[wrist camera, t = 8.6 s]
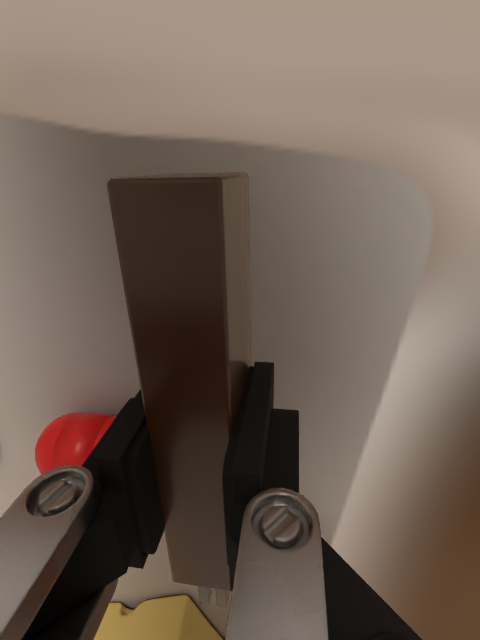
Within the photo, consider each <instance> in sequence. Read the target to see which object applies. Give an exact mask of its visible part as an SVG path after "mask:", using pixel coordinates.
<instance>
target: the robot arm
mask: <svg viewBox="0 0 480 640" xmlns="http://www.w3.org/2000/svg"><path fill="white" fill-rule="evenodd" d="M273 396H274V363H269V362H255V364H254V367H253V366H250V367H249V371H248V375H247V379H246V383H245V388H244V392H243V396H242V400H241V404H240V409H239V413H238V417H237V421H236V426H235V430H234V434H233V437H232V438H231V439H229V442H228V446H227V450H226V454H225V459H224V464H223V473H222V485H223V502H224V518H225V535H226V552H227V565H229V575H230V589H231V591H232V598H231V605H230V612H229V619H228V627H227V634H226V640H422V639H421V638H420V637H419V636H418V635H417V634H416V633H415V632H414V631H413V630H412V629H411V628H410V627H409V626H408V625H407V624H406V623H405V622H404V621H403V620H402V619H401V618H400V617H399V616H398V615H397V614H396V613H395V612H394V611H393V609H392V608H391V607H390V606H389V605H387V603H386V602H384V600H383V599H382V598H381V597H380V596H379V595H378V594H377V593H376V592H375V591H374V590H373V589H372V588H371V587H370V586H369V585H368V584H367V583H366V582H365V581H364V580H363V579H362V578H361V577H360V576H359V575H358V574H357V573H356V572H355V571H354V570H353V569H352V568H351V567H350V566H349V565H348V564H347V563H346V562H345V561H344V560H343V559H342V558H341V557H340V556H339V555H338V554H337V553H336V552H335V550H334V549H333V548H332V547H331V546H330V545H329V544H328V543H327V542H326V541H325V540H324V539H323V538H322V537H321V531H320V522H319V518H318V514H317V512H316V510H315V509H314V507H313V505H312V504H311V503H310V502H309V501H308V500H307V499H306V498H305V497H304V496H303V495H301V494H299V411H298V410H285V409H273ZM164 529H165V524H164V518H163V512H162V506H161V500H160V494H159V488H158V482H157V475H156V469H155V463H154V457H153V451H152V445H151V439H150V432H149V431H148V428H147V422H146V416H145V410H144V404H143V398H142V392H141V389H140V391H139V392H138V394H137V395H136V397H135V398H131V399H129V400H128V402H127V403H126V404H125V405H124V407H123V408H122V410H121V411H120V413H119V414H118V415H117V417H116V418H115V420H114V421H113V422H112V424H111V425H110V427H109V428H108V429H107V431H106V432H105V434H104V435H103V436H102V438H101V439H100V441H99V442H98V443H97V445H96V446H95V448H94V449H93V450H92V452H91V453H90V455H89V456H88V457H87V459H86V460H85V462H84V463H83V464H82V466H78V465H66V466H61V467H57V468H54V469H52V470H50V471H48V472H45V473H44V474H42V475H41V476H39V477H38V478H36V479H35V480H34V481H33V482H32V483H30V484H29V485H28V486H27V487H26V488H25V490H24V491H23V492H22V493H21V494H20V495H19V497H18V498H17V499H16V500H15V501H14V502H13V504H12V505H11V506H10V507H9V508H8V510H7V511H6V512H5V513H4V514H3V515H2V517H1V518H0V640H94V638H95V635H96V633H97V631H98V628H99V626H100V624H101V622H102V619H103V617H104V615H105V612H106V610H107V608H108V606H109V603H110V601H111V599H112V596H113V594H114V592H115V589H116V586H117V582H118V578H119V577H120V576H122V575H123V574H125V573H126V572H127V569H128V567H135V568H142V569H143V567H144V564H145V562H146V559H147V556H148V554H154V553H155V552H156V550H157V548H158V545H159V542H160V540H161V537H162V534H163V531H164Z"/></svg>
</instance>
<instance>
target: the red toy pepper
mask: <svg viewBox="0 0 480 640" xmlns="http://www.w3.org/2000/svg"><path fill="white" fill-rule="evenodd" d="M116 417H117V416H116V415H105V414H93V413H70V414H66V415H63V416H61V417H59V418H57V419H56V420H54V421H53V422H51V423H50V424H49V425H48V426H47V427H46V428H45V429H44V431H43V432H42V434H41V435H40V437H39V439H38V441H37V444H36V448H35V461H36V465H37V467H38V469H39V471H40V473H41V474H44V473H45V472H48V471H50V470H52V469H54V468H57V467H61V466H66V465H78V466H82V464H83V463H84V462H85V460H86V459H87V457H88V456H89V455H90V453H91V452H92V450H93V449H94V448H95V446H96V445H97V443H98V442H99V441H100V439H101V438H102V436H103V435H104V434H105V432H106V431H107V429H108V428H109V427H110V425H111V424H112V422H113V421H114V420H115V418H116Z"/></svg>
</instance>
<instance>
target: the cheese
mask: <svg viewBox="0 0 480 640" xmlns="http://www.w3.org/2000/svg"><path fill="white" fill-rule="evenodd" d="M94 640H223V639H222V637H221V636H220V635H219V634H218V633H217V632H216V631H215V629H214V628H213V627H212V626H211V625H210V623H209V622H208V621H207V620H206V618H205V617H204V616H203V614H202V613H201V612H200V611H199V609H198V608H197V607H196V605H195V604H194V603H193V602H192V600H191V599H190V598H189V597H188V596H187V595H179V596H171V597H164V598H157V599H151V600H147V601H144V602H142V603H141V604H139V605H138V606H137V607H136V608H135V610H131V609H128V608H126V607H125V606H123V605H122V604H121V603H109V606H108V608H107V610H106V612H105V615H104V617H103V619H102V622H101V624H100V626H99V628H98V631H97V633H96V635H95V638H94Z"/></svg>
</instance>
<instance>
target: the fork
mask: <svg viewBox="0 0 480 640" xmlns="http://www.w3.org/2000/svg"><path fill="white" fill-rule="evenodd" d="M107 188H108V194H109V200H110V206H111V212H112V218H113V224H114V230H115V236H116V242H117V248H118V254H119V260H120V266H121V272H122V278H123V284H124V290H125V296H126V302H127V308H128V314H129V320H130V326H131V332H132V338H133V344H134V350H135V356H136V362H137V368H138V374H139V380H140V386H141V392H142V398H143V404H144V410H145V416H146V422H147V428H148V431H149V432H150V439H151V445H152V451H153V457H154V463H155V469H156V475H157V482H158V488H159V494H160V500H161V506H162V512H163V518H164V524H165V529H164V530H165V536H166V542H167V548H168V554H169V560H170V566H171V572H172V578H173V581H174V582H177V583H183V584H190V585H196V586H198V589H199V597H200V603H203V604H209V603H210V598H211V593H212V590H211V588H215V589H216V594H217V605H218V606H222V607H227V603H228V596H229V591H231V589H230V575H229V565H227V552H226V535H225V518H224V502H223V485H222V473H223V464H224V459H225V454H226V450H227V446H228V442H229V439H231V438H232V437H233V434H234V430H235V426H236V421H237V417H238V413H239V409H240V404H241V400H242V396H243V392H244V388H245V383H246V379H247V375H248V371H249V367H250V366H251V303H250V221H249V175H248V173H246V172H230V173H186V174H166V175H154V176H141V177H129V178H117V179H110V180H108V181H107Z"/></svg>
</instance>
